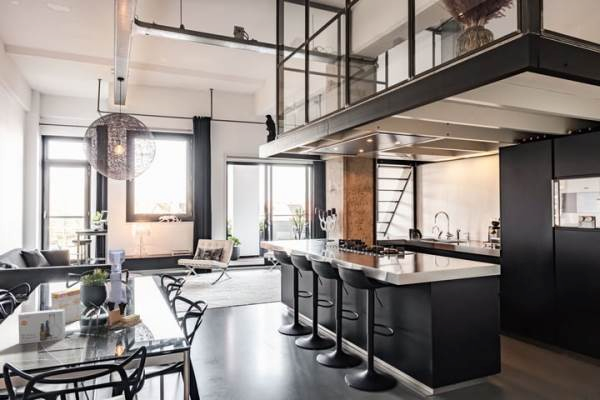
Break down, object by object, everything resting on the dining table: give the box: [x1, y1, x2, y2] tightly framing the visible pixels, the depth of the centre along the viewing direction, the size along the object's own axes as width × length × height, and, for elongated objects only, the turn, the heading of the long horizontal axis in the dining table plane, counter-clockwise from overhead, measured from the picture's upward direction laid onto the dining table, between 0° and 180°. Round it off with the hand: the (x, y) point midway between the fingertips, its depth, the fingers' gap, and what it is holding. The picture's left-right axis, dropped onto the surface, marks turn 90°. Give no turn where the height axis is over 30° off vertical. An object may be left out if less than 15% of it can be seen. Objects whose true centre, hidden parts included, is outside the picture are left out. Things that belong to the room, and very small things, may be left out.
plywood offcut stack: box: [119, 313, 143, 328], centre depth 245 cm, size 7×11×4 cm, turn 160°
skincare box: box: [18, 309, 66, 345], centre depth 222 cm, size 21×6×16 cm, turn 106°
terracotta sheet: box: [108, 309, 126, 325], centre depth 249 cm, size 2×10×8 cm, turn 160°
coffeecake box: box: [50, 288, 82, 325], centre depth 259 cm, size 15×7×20 cm, turn 149°
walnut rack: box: [105, 320, 143, 328], centre depth 247 cm, size 19×12×2 cm, turn 70°
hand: (117, 314), depth 249 cm, fingers open, 7 cm apart
